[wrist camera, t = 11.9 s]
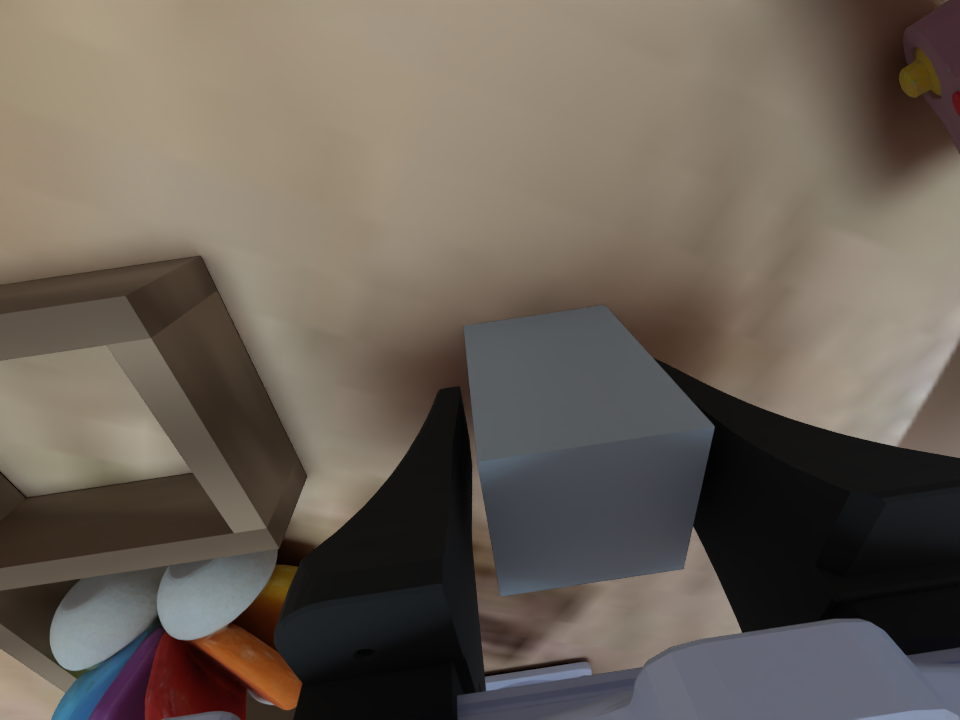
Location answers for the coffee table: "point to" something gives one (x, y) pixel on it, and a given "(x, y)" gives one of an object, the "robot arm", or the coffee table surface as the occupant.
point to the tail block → (581, 451)
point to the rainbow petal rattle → (175, 640)
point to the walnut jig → (185, 419)
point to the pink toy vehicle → (935, 64)
